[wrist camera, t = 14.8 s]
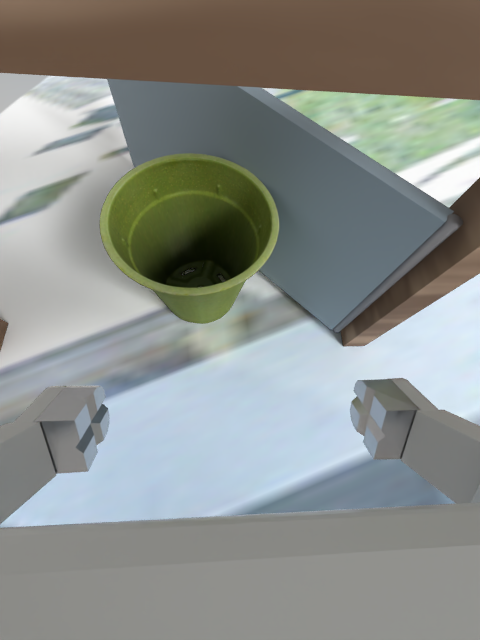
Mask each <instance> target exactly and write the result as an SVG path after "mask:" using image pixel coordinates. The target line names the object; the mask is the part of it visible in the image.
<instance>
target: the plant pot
mask: <svg viewBox="0 0 480 640" xmlns="http://www.w3.org/2000/svg"><path fill="white" fill-rule="evenodd" d="M278 233H279V216H278V212H277V208H276V205H275V202H274V200H273V198H272V196H271V194H270V193H269V191H268V190H267V188H266V187H265V186H264V184H263V183H262V182H261V181H260V180H259V179H258V178H257V177H256V176H255V175H254V174H252V173H251V172H250V171H248V170H247V169H245V168H243V167H242V166H240V165H238V164H236V163H234V162H231V161H229V160H226V159H223V158H219V157H216V156H211V155H205V154H195V153H183V154H173V155H167V156H163V157H159V158H155V159H153V160H151V161H147V162H145V163H143V164H141V165H139V166H137V167H135V168H134V169H132V170H131V171H129V172H128V173H127V174H126V175H124V176H123V177H122V178H121V179H120V180H119V181H118V182H117V183H116V184H115V185H114V187H113V188H112V189H111V190H110V192H109V194H108V195H107V197H106V200H105V202H104V204H103V207H102V210H101V215H100V234H101V238H102V242H103V245H104V247H105V249H106V251H107V253H108V255H109V257H110V258H111V260H112V261H113V262H114V263H115V265H116V266H117V267H118V268H119V269H120V270H121V271H122V272H123V273H124V274H126V275H127V276H128V277H130V278H131V279H132V280H134V281H136V282H137V283H139V284H141V285H143V286H145V287H147V288H150V289H152V290H153V291H154V292H155V293H156V294H157V295H158V296H159V298H160V299H161V300H162V301H163V302H164V303H165V304H166V305H167V306H168V308H169V309H170V310H171V311H172V312H173V313H174V314H175V315H176V316H178V317H179V318H181V319H182V320H185V321H188V322H193V323H201V324H203V323H209V322H212V321H215V320H217V319H219V318H221V317H222V316H224V315H225V314H226V313H227V312H228V311H229V310H230V308H231V307H232V305H233V303H234V301H235V299H236V298H237V296H238V294H239V292H240V290H241V288H242V286H243V284H244V283H245V281H246V280H247V279H248V278H250V277H251V276H252V275H254V274H255V273H256V272H257V271H258V270H259V269H260V268H261V267H262V266H263V265H264V263H265V262H266V261H267V260H268V258H269V257H270V255H271V253H272V251H273V249H274V247H275V244H276V242H277V238H278ZM202 266H203V267H202ZM191 268H194V269H195V270H194V271H193V272H190V273H188V274H185V275H184V276H183V275H181V273H183V272H184V271H186V270H188V269H191ZM218 274H221V275H222V276H223V277H224V279H225V280H226V281H225V282H222V281H221V280H220V278H219V277H218V276H217V275H218ZM200 286H202V287H200Z"/></svg>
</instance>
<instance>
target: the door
mask: <svg viewBox="0 0 480 640" xmlns="http://www.w3.org/2000/svg"><path fill="white" fill-rule="evenodd" d="M107 80H108V84H109V87H110V90H111V93H112V97H113V100H114V103H115V106H116V110H117V113H118V116H119V119H120V123H121V126H122V129H123V133H124V136H125V139H126V142H127V146H128V149H129V152H130V155H131V159H132V162H133V165H134V167H137V166H139V165H141V164H143V163H145V162H147V161H151V160H153V159H155V158H159V157H163V156H167V155H173V154H183V153H195V154H205V155H211V156H216V157H219V158H223V159H226V160H229V161H231V162H234V163H236V164H238V165H240V166H242V167H243V168H245V169H247V170H248V171H250V172H251V173H252V174H254V175H255V176H256V177H257V178H258V179H259V180H260V181H261V182H262V183H263V184H264V186H265V187H266V188H267V190H268V191H269V193H270V194H271V196H272V198H273V200H274V202H275V205H276V208H277V212H278V216H279V233H278V238H277V242H276V244H275V247H274V249H273V251H272V253H271V255H270V257H269V258H268V260H267V261H266V262H265V263H264V265H263V266H262V267H261V268H260V269H259V271H261V272H262V273H263V274H264V275H265V276H267V277H268V278H269V279H270V280H271V281H273V282H274V283H275V284H276V285H277V286H279V287H280V288H281V289H282V290H283V291H285V292H286V293H287V294H288V295H290V296H291V297H292V298H293V299H294V300H296V301H297V302H298V303H299V304H300V305H302V306H303V307H304V308H305V309H306V310H308V311H309V312H310V313H311V314H312V315H314V316H315V317H316V318H317V319H319V320H320V321H321V322H322V323H323V324H325V325H326V326H327V327H328V328H329V329H331V330H332V329H333V330H334V332H336V333H338V332H340V331H341V330H342V329H343V328H345V327H346V326H347V325H348V324H349V323H350V322H352V321H353V320H354V319H355V318H356V317H357V316H358V315H360V314H361V313H362V312H363V311H364V310H365V309H366V308H368V307H369V306H370V305H371V304H372V303H373V302H374V301H376V300H377V299H378V298H379V297H380V296H381V295H383V294H384V293H385V292H386V291H387V290H388V289H389V288H391V287H392V286H393V285H394V284H395V283H396V282H397V281H399V280H400V279H401V278H402V277H403V276H404V275H405V274H407V273H408V272H409V271H410V270H411V269H412V268H413V267H415V266H416V265H417V264H418V263H419V262H420V261H422V260H423V259H424V258H425V257H426V256H427V255H428V254H430V253H431V252H432V251H433V250H434V249H435V248H436V247H438V246H439V245H440V244H441V243H442V242H443V241H444V240H446V239H447V238H448V237H449V236H450V235H451V234H453V233H454V232H455V231H456V230H457V229H458V228H459V227H461V226H462V225H463V220H462V219H461V217H459V216H458V215H456V214H452V213H453V212H454V211H453V210H451V209H450V208H448V207H446V206H445V205H443V204H442V203H440V202H439V201H437V200H436V199H434V198H432V197H431V196H429V195H428V194H426V193H425V192H423V191H421V190H420V189H418V188H417V187H415V186H414V185H412V184H411V183H409V182H407V181H406V180H404V179H403V178H401V177H400V176H398V175H396V174H395V173H393V172H392V171H390V170H389V169H387V168H386V167H384V166H382V165H381V164H379V163H378V162H376V161H375V160H373V159H371V158H370V157H368V156H367V155H365V154H364V153H362V152H361V151H359V150H357V149H356V148H354V147H353V146H351V145H350V144H348V143H347V142H345V141H343V140H342V139H340V138H339V137H337V136H336V135H334V134H332V133H331V132H329V131H328V130H326V129H325V128H323V127H322V126H320V125H318V124H317V123H315V122H314V121H312V120H311V119H309V118H307V117H306V116H304V115H303V114H301V113H300V112H298V111H297V110H295V109H293V108H292V107H290V106H289V105H287V104H286V103H284V102H282V101H281V100H279V99H278V98H276V97H275V96H273V95H272V94H270V93H268V92H267V91H265V90H264V89H262V88H260V87H242V86H225V85H207V84H190V83H172V82H155V81H137V80H120V79H107Z"/></svg>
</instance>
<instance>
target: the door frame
mask: <svg viewBox="0 0 480 640" xmlns="http://www.w3.org/2000/svg"><path fill="white" fill-rule="evenodd" d="M0 73H15V74H33V75H50V76H67V77H85V78H102V79H120V80H137V81H155V82H172V83H190V84H207V85H225V86H242V87H260V88H277V89H295V90H313V91H330V92H348V93H365V94H383V95H400V96H418V97H435V98H453V99H470V100H480V0H0ZM450 209H451V210H453V211H454V212H453V213H452V214H456V215H458V216H459V217H461V219H462V220H463V225H462V226H461V227H459V228H458V229H457V230H456V231H455V232H454V233H453V234H451V235H450V236H449V237H448V238H447V239H446V240H444V241H443V242H442V243H441V244H440V245H439V246H438V247H436V248H435V249H434V250H433V251H432V252H431V253H430V254H428V255H427V256H426V257H425V258H424V259H423V260H422V261H420V262H419V263H418V264H417V265H416V266H415V267H413V268H412V269H411V270H410V271H409V272H408V273H407V274H405V275H404V276H403V277H402V278H401V279H400V280H399V281H397V282H396V283H395V284H394V285H393V286H392V287H391V288H389V289H388V290H387V291H386V292H385V293H384V294H383V295H381V296H380V297H379V298H378V299H377V300H376V301H374V302H373V303H372V304H371V305H370V306H369V307H368V308H366V309H365V310H364V311H363V312H362V313H361V314H360V315H358V316H357V317H356V318H355V319H354V320H353V321H352V322H350V323H349V324H348V325H347V326H346V327H345V328H343V329H342V330H341V331H340V332H341V337H342V342H343V346H365V345H367V344H368V343H370V342H371V341H373V340H375V339H376V338H378V337H379V336H381V335H382V334H384V333H386V332H387V331H389V330H390V329H392V328H394V327H395V326H397V325H398V324H400V323H402V322H403V321H405V320H406V319H408V318H409V317H411V316H413V315H414V314H416V313H417V312H419V311H421V310H422V309H424V308H425V307H427V306H429V305H430V304H432V303H433V302H435V301H436V300H438V299H440V298H441V297H443V296H444V295H446V294H448V293H449V292H451V291H452V290H454V289H456V288H457V287H459V286H460V285H462V284H463V283H465V282H467V281H468V280H470V279H471V278H473V277H475V276H476V275H478V274H479V273H480V178H479V179H478V180H477V181H476V182H475V183H474V184H473V185H472V186H471V187H470V188H469V189H468V190H467V191H466V192H465V193H464V194H463V195H462V196H461V197H460V198H459V199H458V200H457V201H456V202H455V203H454V204H453V205H452V206H451V207H450ZM7 326H8V323H7V322H5V321H3V320H1V319H0V350H1V347H2V343H3V340H4V336H5V333H6V329H7Z"/></svg>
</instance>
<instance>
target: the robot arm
mask: <svg viewBox="0 0 480 640" xmlns="http://www.w3.org/2000/svg"><path fill="white" fill-rule="evenodd" d="M354 392H355V394H356V395H357V397H356V398H355V399H354V400H353V401H352V402H351V408H350V415H351V420H352V423H353V426H354V428H355V429H356V431H357V432H359V433H360V434H362V435H363V436H364V440H363V443H364V444H365V446H366V448H367V449H368V451H369V453H370V454H371V456H372V458H373V459H401V461H402V462H404V463H405V464H406V465H407V466H409V467H410V468H411V469H413V470H414V471H415V472H416V473H418V474H419V475H420V476H422V477H423V478H424V479H425V480H427V481H428V482H429V483H431V484H432V485H433V486H434V487H436V488H437V489H438V490H440V491H441V492H442V493H443V494H445V495H446V496H447V497H449V498H450V499H451V500H452V501H454V502H455V503H456V504H440V505H422V506H403V507H384V508H365V509H346V510H327V511H308V512H289V513H270V514H251V515H233V516H214V517H195V518H177V519H158V520H139V521H120V522H102V523H83V524H64V525H45V526H26V527H8V528H0V640H480V426H478V425H476V424H474V423H472V422H470V421H467V420H465V419H463V418H461V417H458V416H456V415H454V414H452V413H450V412H447V411H445V410H438V409H437V408H436V407H435V406H434V405H433V404H432V403H431V402H430V401H429V400H428V399H427V398H426V397H425V396H424V395H422V394H421V393H420V392H419V391H418V390H417V389H416V388H415V387H414V386H413V385H412V384H411V383H410V382H409V381H408V380H406V379H403V378H395V379H381V380H357V382H356V384H355V387H354ZM105 398H106V396H105V392H104V388H102V387H101V386H51V387H48V388H46V389H45V390H44V391H43V392H42V393H41V394H40V395H39V396H38V397H37V398H36V399H35V400H34V402H33V403H32V404H31V405H30V406H29V407H28V408H27V409H26V410H25V411H24V412H23V413H22V414H21V415H20V416H19V417H18V418H17V419H16V420H15V422H14V423H6V424H4V425H2V426H1V427H0V524H1V523H2V522H3V521H4V520H5V519H7V518H8V517H9V516H10V515H11V514H12V513H13V512H15V511H16V510H17V509H18V508H19V507H20V506H22V505H23V504H24V503H25V502H26V501H27V500H28V499H30V498H31V497H32V496H33V495H34V494H35V493H37V492H38V491H39V490H40V489H41V488H42V487H43V486H45V485H46V484H47V483H48V482H49V481H50V480H52V479H53V478H54V477H55V476H56V474H57V473H72V472H86V471H89V469H90V467H91V465H92V463H93V461H94V459H95V457H96V455H97V453H98V451H97V446H96V445H98V444H99V443H100V442H102V441H103V440H104V438H105V436H106V434H107V431H108V427H109V411H108V408H107V407H106V406H104V405H103V404H102V403H103V401H104V399H105Z"/></svg>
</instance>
